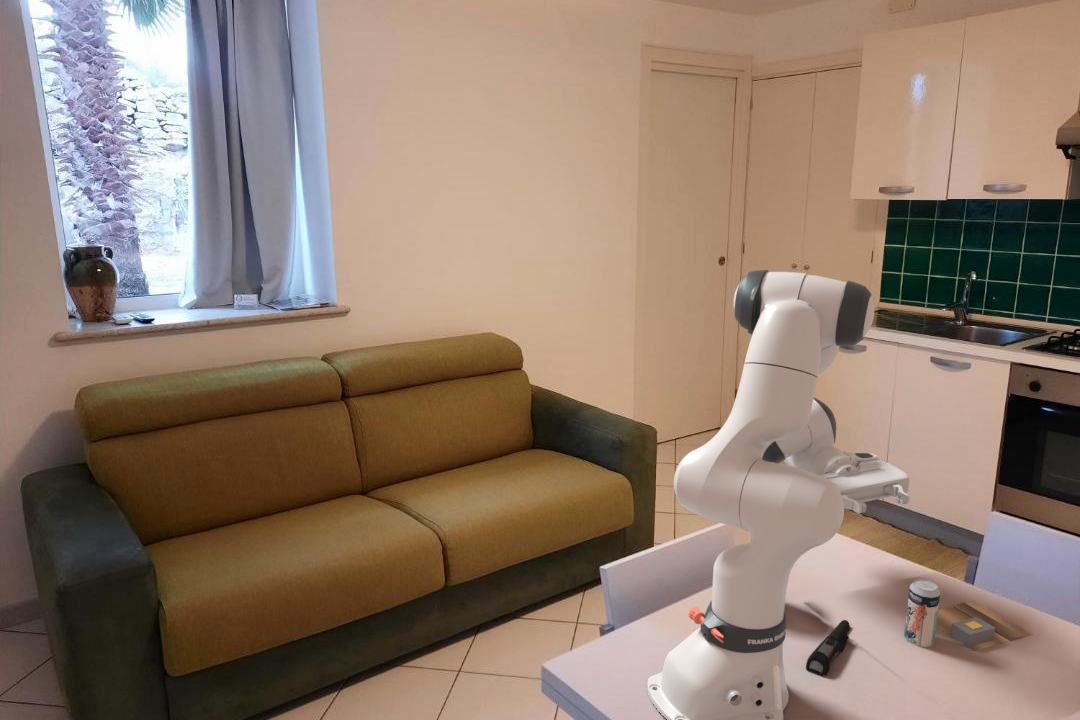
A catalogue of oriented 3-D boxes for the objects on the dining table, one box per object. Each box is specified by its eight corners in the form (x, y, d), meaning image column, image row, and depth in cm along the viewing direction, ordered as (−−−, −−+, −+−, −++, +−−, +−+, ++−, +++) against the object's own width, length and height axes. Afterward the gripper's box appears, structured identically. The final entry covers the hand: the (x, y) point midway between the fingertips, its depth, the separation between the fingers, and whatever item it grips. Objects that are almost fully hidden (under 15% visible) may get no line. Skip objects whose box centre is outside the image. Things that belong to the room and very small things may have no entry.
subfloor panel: (972, 658, 130) (974, 649, 129) (916, 622, 141) (917, 614, 140) (1031, 641, 134) (1032, 633, 134) (972, 608, 145) (973, 600, 145)
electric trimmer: (855, 638, 136) (857, 622, 136) (826, 679, 125) (827, 662, 124) (834, 631, 139) (836, 615, 138) (803, 670, 127) (804, 653, 126)
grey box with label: (968, 647, 130) (969, 633, 130) (950, 635, 134) (952, 622, 133) (993, 639, 132) (995, 626, 132) (975, 629, 136) (977, 616, 135)
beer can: (898, 638, 136) (905, 577, 133) (925, 639, 135) (932, 578, 133) (910, 654, 131) (917, 591, 128) (938, 655, 131) (946, 592, 128)
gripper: (792, 467, 148) (837, 499, 135) (880, 451, 153) (932, 480, 140) (790, 496, 149) (834, 530, 137) (877, 480, 155) (928, 510, 142)
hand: (884, 505), depth 138 cm, fingers open, 8 cm apart
